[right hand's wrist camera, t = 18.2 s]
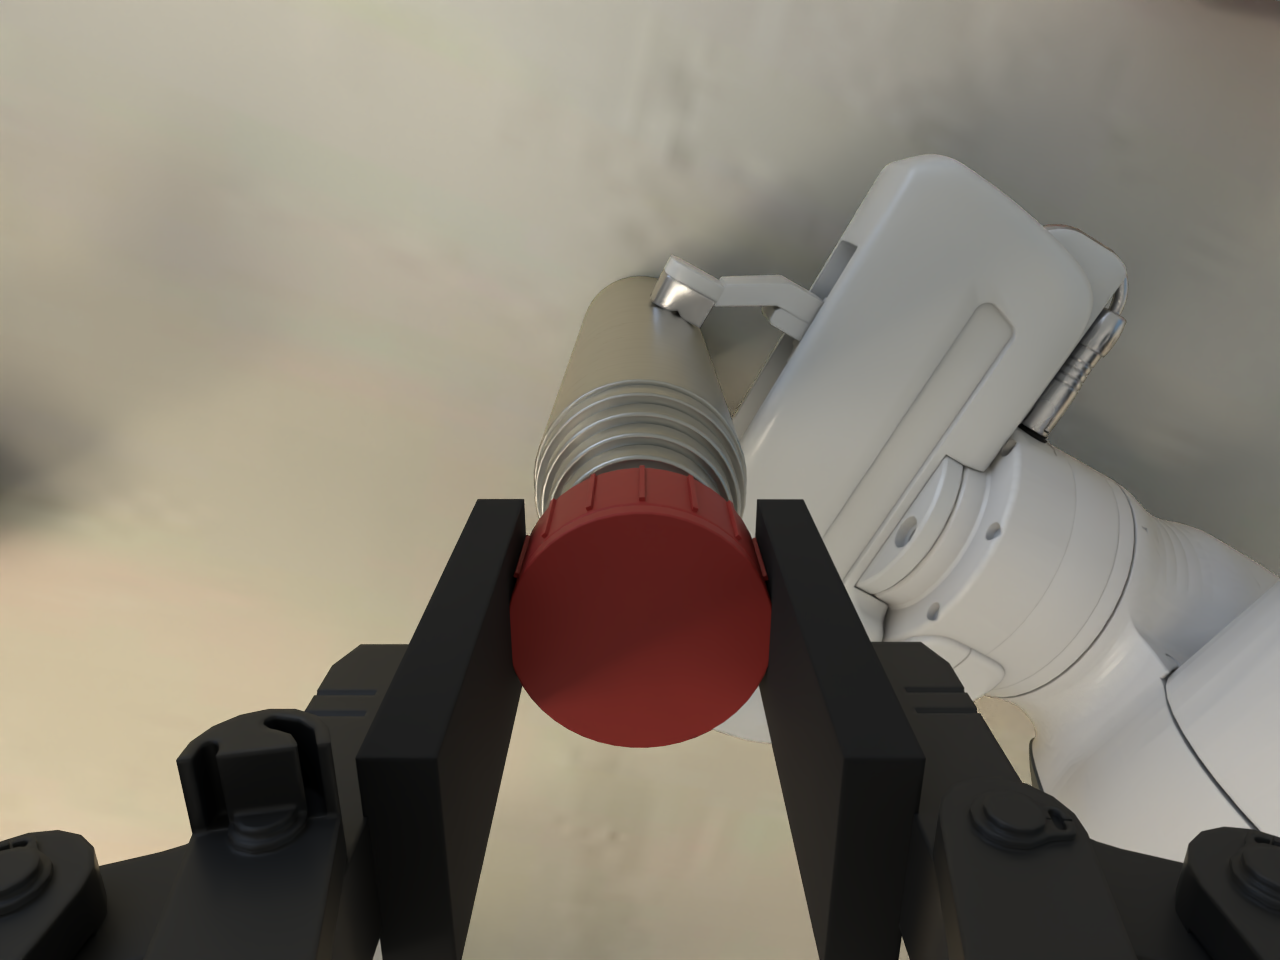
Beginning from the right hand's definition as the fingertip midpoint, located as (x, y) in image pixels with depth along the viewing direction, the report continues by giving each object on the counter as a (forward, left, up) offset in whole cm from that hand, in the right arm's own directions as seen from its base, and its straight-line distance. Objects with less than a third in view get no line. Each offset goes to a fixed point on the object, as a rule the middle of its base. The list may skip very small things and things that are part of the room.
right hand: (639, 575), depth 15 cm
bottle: (0, 0, -21) cm, 21 cm away
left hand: (-1, +1, -15) cm, 15 cm away
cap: (0, 0, +2) cm, 2 cm away
